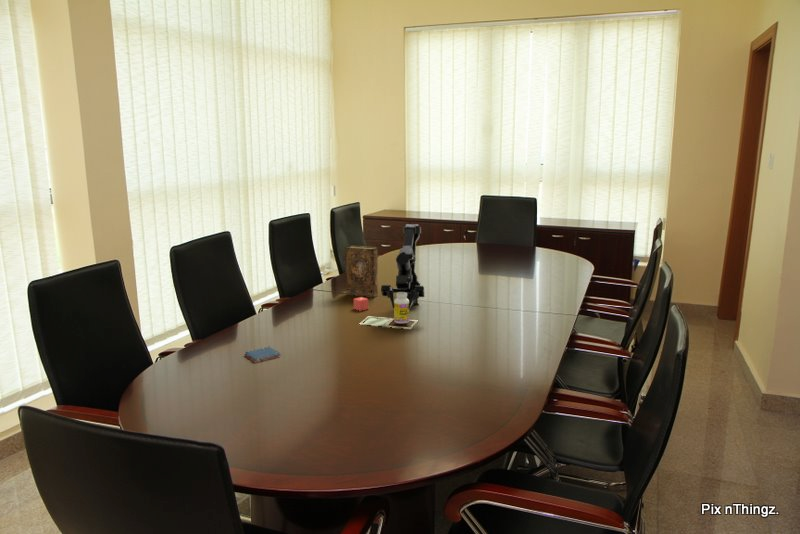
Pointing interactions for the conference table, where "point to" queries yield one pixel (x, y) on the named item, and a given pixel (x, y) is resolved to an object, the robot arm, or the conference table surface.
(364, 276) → the book
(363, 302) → the red die
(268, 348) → the woven mat
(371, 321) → the silver picture frame
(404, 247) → the robot arm
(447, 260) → the conference table surface
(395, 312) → the supplement bottle
